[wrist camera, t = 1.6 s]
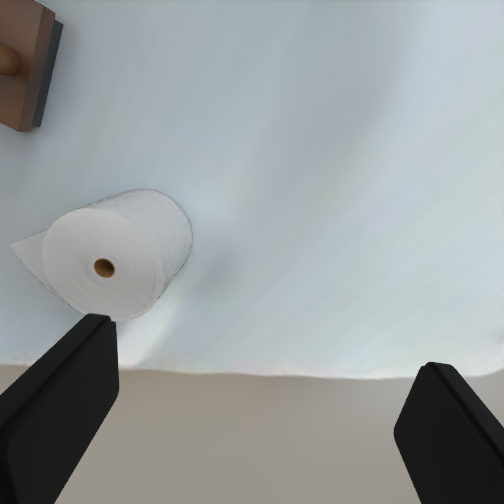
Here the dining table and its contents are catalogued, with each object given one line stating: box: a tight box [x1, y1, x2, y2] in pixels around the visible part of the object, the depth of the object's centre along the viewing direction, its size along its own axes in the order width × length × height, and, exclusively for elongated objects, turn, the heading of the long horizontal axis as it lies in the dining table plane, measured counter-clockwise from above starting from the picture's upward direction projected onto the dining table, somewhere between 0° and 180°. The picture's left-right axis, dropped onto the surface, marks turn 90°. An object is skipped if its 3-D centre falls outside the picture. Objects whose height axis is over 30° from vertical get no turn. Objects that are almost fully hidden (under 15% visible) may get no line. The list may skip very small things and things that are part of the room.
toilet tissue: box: [9, 189, 192, 321], centre depth 29 cm, size 11×12×10 cm
